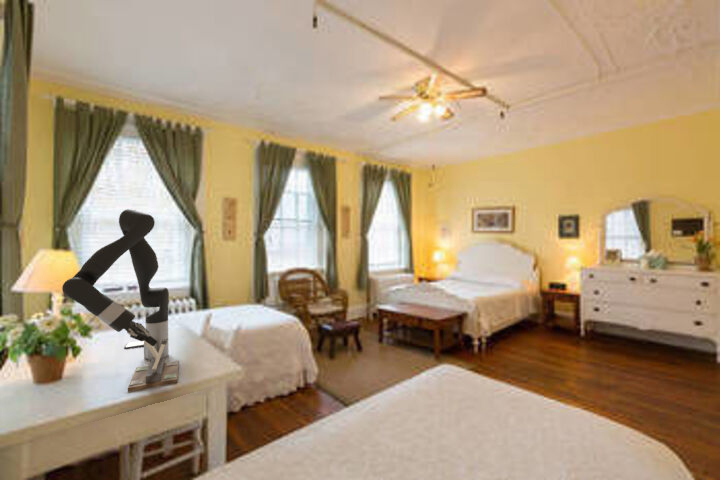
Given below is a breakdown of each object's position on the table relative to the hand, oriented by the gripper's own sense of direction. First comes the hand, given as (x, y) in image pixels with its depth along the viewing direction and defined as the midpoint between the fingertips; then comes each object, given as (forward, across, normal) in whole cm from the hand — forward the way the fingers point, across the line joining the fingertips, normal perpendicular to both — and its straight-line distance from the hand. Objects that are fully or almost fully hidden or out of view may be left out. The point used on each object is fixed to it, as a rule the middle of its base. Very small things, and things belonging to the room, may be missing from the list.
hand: (155, 343), depth 126 cm
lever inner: (+7, +14, +8) cm, 17 cm away
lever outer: (+7, 0, +8) cm, 10 cm away
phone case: (+4, +57, +18) cm, 60 cm away
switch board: (+11, +7, +12) cm, 17 cm away
